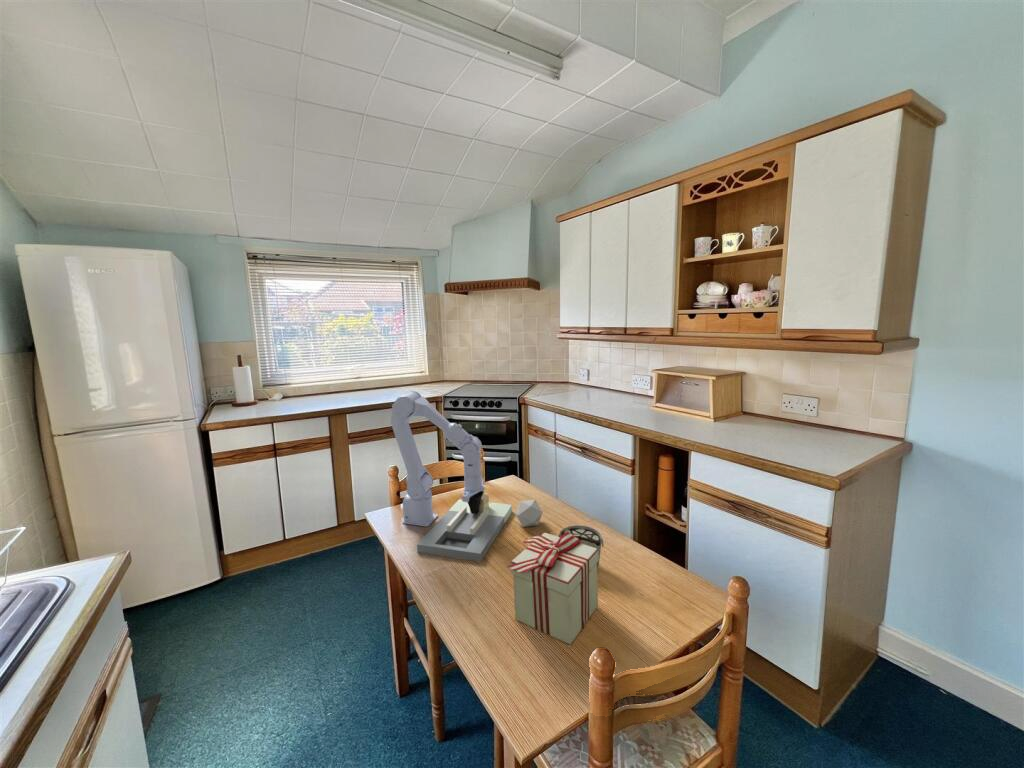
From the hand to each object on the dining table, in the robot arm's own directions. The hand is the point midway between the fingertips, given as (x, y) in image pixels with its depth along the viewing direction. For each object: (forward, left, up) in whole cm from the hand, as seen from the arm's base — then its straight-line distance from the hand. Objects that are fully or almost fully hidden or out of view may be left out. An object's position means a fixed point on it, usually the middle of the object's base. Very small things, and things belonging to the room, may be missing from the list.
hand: (474, 512), depth 141 cm
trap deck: (0, -5, -3) cm, 6 cm away
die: (+18, +3, -3) cm, 19 cm away
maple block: (0, +4, -1) cm, 4 cm away
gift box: (+33, -36, -3) cm, 49 cm away
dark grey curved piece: (+38, -15, -3) cm, 41 cm away
